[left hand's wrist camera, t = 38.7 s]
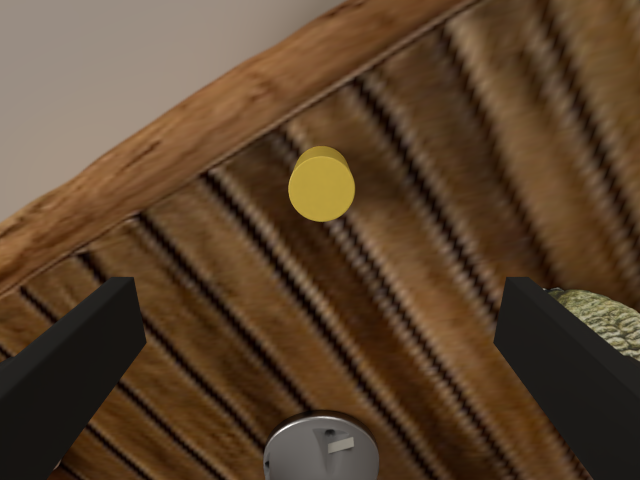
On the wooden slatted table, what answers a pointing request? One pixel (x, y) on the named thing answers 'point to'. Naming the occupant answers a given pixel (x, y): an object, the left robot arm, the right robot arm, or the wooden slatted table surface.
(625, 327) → the fossil
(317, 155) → the cylinder
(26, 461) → the left robot arm
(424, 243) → the wooden slatted table surface
